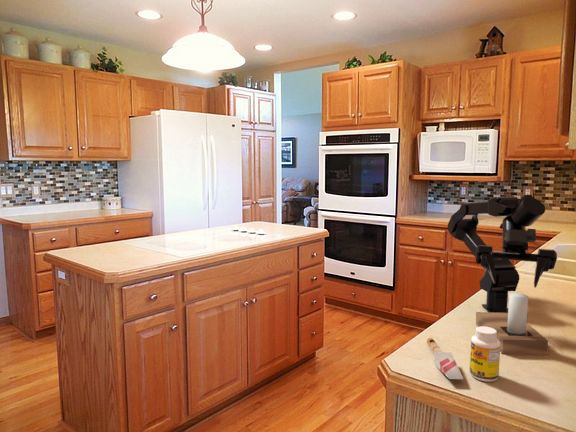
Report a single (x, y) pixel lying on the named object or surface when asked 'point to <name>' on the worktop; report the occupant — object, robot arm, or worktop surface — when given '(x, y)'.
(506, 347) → the brown holed block
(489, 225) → the worktop surface
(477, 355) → the supplement bottle
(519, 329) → the peg
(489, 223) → the worktop surface
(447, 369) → the paintbrush
